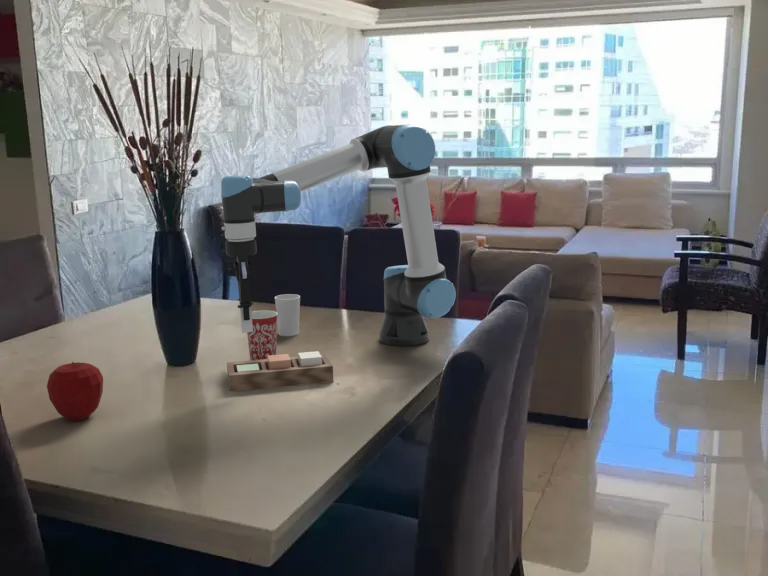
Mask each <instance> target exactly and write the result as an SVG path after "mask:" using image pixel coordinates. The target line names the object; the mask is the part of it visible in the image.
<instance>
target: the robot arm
mask: <svg viewBox="0 0 768 576" xmlns="http://www.w3.org/2000/svg"><path fill="white" fill-rule="evenodd" d="M435 155H436V143H435V140H434V138H433V136H432V134H431V133H430V132H429V131H428V130H427V129H426V128H424V127H422V126H420V125H415V124H409V123H408V124H396V125H395V124H394V125H389V124H387V125H384V126H381V127H377V128H376V129H373V130H371V131H369V132H366V133H364V134H362V135H359V136H357V137H354V138H353V139H351V140H350V141H349V144H346V145H344V146H341V147H338V148H335V149H333V150H330V151H327V152H325V153H322V154H320V155H317V156H314V157H311V158H309V159H306V160H303V161H300V162H298V163H295V164H293V165H290V166H287V167H285V168H281V169H280V170H276V171H275V172H274V171H273V172H271V173H270V174H265V175H263V176H261V177H255V178H254V177H252V176H251V175H244V174H243V175H241V174H240V175H228V176H224V177H223V178H222V179H221V184H220V187H221V188H220V190H221V191H220V193H221V194H220V198H221V205H222V214H223V225H224V226H222V227H221V230H222V231H224V237H225V239H226V240H225V242H224V245H225V255H226V256H228V257H232V258H235V257H236V261H234V262H233V267H234V271H235V278H236V281H237V286H238V287H237V290H238V301H239V304H238V305H237V309H239V313H240V323H241V325H240V327H241V333H242V334H244V333H246V334H247V332H253V325H252V312H253V311H252V306H253V305H254V302H253V301H252V296H251V295H252V294H251V280H252V278H251V277H252V275H251V270H252V264H251V263H252V262H251V261H250V260H248V257H251V256H254V255H256V254H257V253H258V248H257V240H256V237H257V230H256V229H257V228H256V214H263V213H264V214H265V213H276V212H277V213H278V212H285V213H286V212H288V211H296V210H297V209H299V208H300V206H301V202H302V193H303V192H305V191H308V190H311V189H313V188H316V187H318V186H321V185H324V184H325V183H328V182H331V181H334V180H336V179H339V178H341V177H344V176H347V175H349V174H352V173H354V172H357V171H361V172H367V171H370V170H372V169H378V168H379V169H380V168H387V175H388V179H389V181H392V182H393V183H394V185H395V188H396V189H395V191H396V197H397V202H398V208H399V209H398V210H399V215H400V220H401V221H400V222H401V227H402V233H403V235H402V236H403V241H404V246H405V253H406V259H407V264H404V265H403V264H402V265H393V266H388V267H386V268H385V269H384V271H383V272H384V273H383V279H382V280H383V290H384V291H383V293H384V294H383V295H384V296H383V297H384V298H383V300H384V302H383V304H384V305H383V306H384V316H383V318H382V319H383V320H382V323H381V325H380V330H379V332H378V333H379V334H378V335H379V336H378V337H379V338H378V339H379V342H380V343H382V344H385V345H388V346H396V347H411V346H419V345H422V344H426V343H427V342H428V341H429V339H430V338H429V337H430V336H429V333H430V332H429V330H428V327H427V324H426V320H425V318H430V319H431V318H432V319H438V318H441V317H443V316H445V315H446V314H448V312H450V311H451V308H452V307H454V303H455V302H456V301H455V300H456V296H457V291H456V287H455V286H454V284H453V282H451V281H450V280H449V279H448V278H447V276H446V275H447V274H446V267H445V266H444V265H443V264H442V263H440V262H439V256H438V250H437V242H436V236H435V229H434V223H433V216H432V215H433V214H432V210H431V208H432V207H431V202H430V195H429V189H428V182H427V181H428V180H427V178H428V177H429V176H430V174H431V164H432V163H433V159H434V158H435ZM424 317H425V318H424Z"/></svg>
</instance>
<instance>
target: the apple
mask: <svg viewBox="0 0 768 576" xmlns="http://www.w3.org/2000/svg"><path fill="white" fill-rule="evenodd" d="M47 380H48V381H47V384H46V389H47V394H48V398H49V401H50V403H51V404H52V405H53V407H54V409H55V410H56V411H57V413H58V414H59V415H60V416H61V417H63V418H65V419H66V420H68V421H70V422H79V421H83V420H85V419H87V418H89V417H90V416H91V415H92V414H93V413H95V411H96V410H97V409H98V408H99V405H100V402H101V399H102V395H103V388H104V376H103V374H102V372H101V371H100V369H99V367H97V366H95V365H93V364H91V363H88V362H74V361H72V362H71V363H66V364H62V365H59V366H57V367H56V368H55V369H54V370H53V371H52V372H51V373H50V374H49V377H48V379H47Z"/></svg>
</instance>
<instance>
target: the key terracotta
mask: <svg viewBox="0 0 768 576" xmlns="http://www.w3.org/2000/svg"><path fill="white" fill-rule="evenodd" d="M290 357H291V356H290V355H289V353H284V354H276V355H269V356H267V358H268V369H279V368H290V367H291V359H290Z"/></svg>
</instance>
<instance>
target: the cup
mask: <svg viewBox="0 0 768 576" xmlns="http://www.w3.org/2000/svg"><path fill="white" fill-rule="evenodd" d="M274 302H275V310H276V311H275V312H277V313H278V315H277V329H278V335H279V336H281V337H294V336H297V335H299V334H300V310H301V309H300V308H301V307H300V306H301V295H299V294H296V293H295V294H294V293H293V294H292V293H291V294H290V293H287V294H286V293H285V294H279V295H276V296H274Z"/></svg>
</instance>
